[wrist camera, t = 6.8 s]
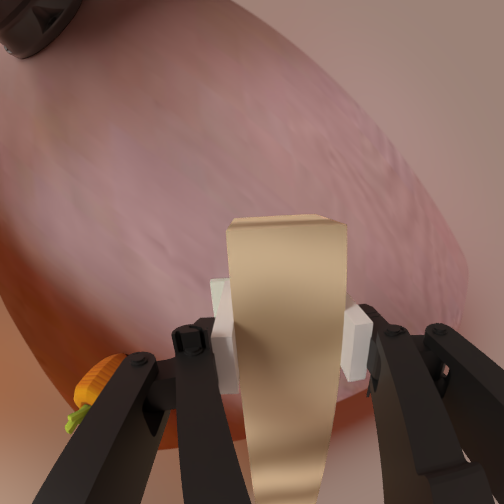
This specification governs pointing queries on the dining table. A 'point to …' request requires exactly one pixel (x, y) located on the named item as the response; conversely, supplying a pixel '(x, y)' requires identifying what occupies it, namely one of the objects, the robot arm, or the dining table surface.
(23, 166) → the dining table surface
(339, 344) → the birch bar
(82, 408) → the carrot
